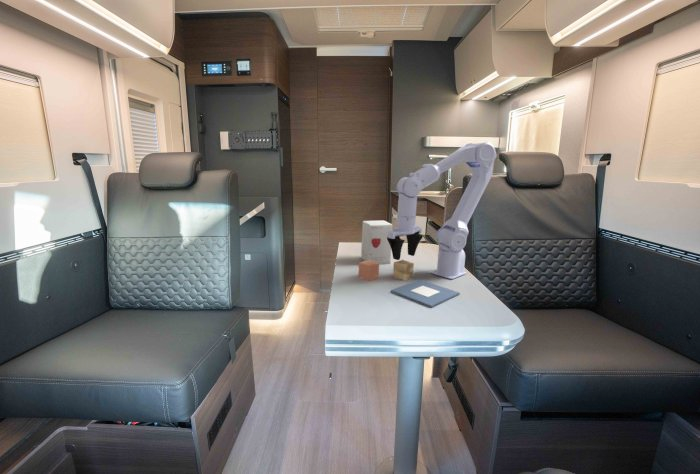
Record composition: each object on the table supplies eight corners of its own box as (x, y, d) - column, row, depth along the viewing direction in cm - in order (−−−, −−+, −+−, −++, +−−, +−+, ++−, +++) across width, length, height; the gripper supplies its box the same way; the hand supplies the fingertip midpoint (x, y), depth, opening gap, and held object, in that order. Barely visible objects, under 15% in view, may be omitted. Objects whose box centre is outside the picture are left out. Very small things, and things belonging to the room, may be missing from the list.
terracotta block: (368, 274, 113) (369, 259, 112) (378, 277, 110) (379, 263, 109) (358, 277, 110) (359, 262, 109) (368, 281, 107) (369, 266, 106)
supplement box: (367, 265, 122) (369, 224, 119) (360, 258, 131) (361, 220, 127) (391, 263, 125) (393, 224, 121) (382, 257, 133) (384, 219, 130)
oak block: (401, 274, 114) (402, 259, 113) (412, 277, 111) (413, 263, 110) (392, 276, 111) (393, 262, 110) (404, 280, 108) (404, 265, 107)
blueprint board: (419, 281, 107) (419, 279, 107) (459, 294, 97) (459, 292, 97) (390, 292, 98) (391, 289, 98) (431, 307, 88) (431, 305, 88)
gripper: (410, 212, 114) (407, 250, 117) (381, 216, 104) (379, 258, 107) (428, 215, 109) (424, 255, 112) (399, 219, 99) (396, 263, 102)
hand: (403, 257), depth 109 cm, fingers open, 7 cm apart
